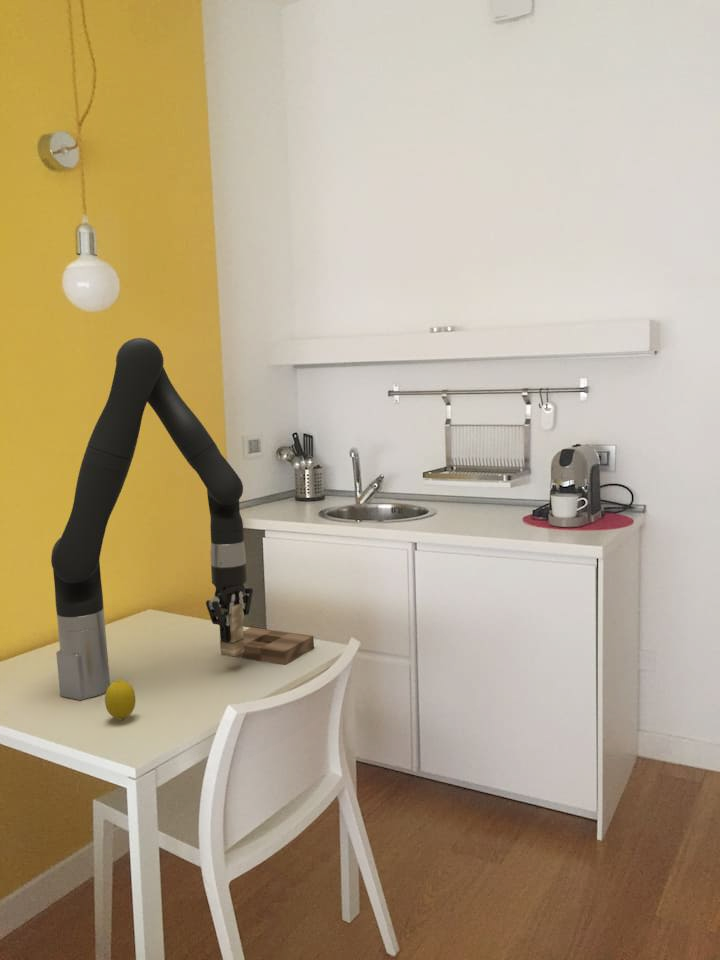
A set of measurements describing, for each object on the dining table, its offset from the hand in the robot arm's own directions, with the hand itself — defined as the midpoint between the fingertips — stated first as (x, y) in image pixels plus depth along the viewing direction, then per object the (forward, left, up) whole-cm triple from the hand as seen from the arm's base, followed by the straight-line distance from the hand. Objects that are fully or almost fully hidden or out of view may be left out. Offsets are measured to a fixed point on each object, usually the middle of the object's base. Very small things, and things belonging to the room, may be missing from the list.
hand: (232, 638), depth 181 cm
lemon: (-31, +3, -7) cm, 32 cm away
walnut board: (+12, 0, -7) cm, 14 cm away
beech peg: (0, 0, -3) cm, 3 cm away
